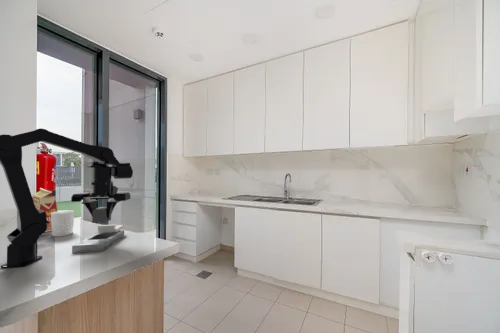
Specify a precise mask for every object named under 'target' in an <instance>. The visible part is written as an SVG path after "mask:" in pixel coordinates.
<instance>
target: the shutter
mask: <svg viewBox="0 0 500 333" xmlns="http://www.w3.org/2000/svg"><path fill="white" fill-rule="evenodd" d="M123 229H124V224H100V225H97V232H98V231H99V232H98V233H108V232H117V231H119V230H123Z"/></svg>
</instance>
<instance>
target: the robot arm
mask: <svg viewBox="0 0 500 333" xmlns="http://www.w3.org/2000/svg"><path fill="white" fill-rule="evenodd" d="M39 142H41V143H44V144H47V145H51V146H54V147H57V148H62V149H64V150H67V151H71V152H75V153H76V154H77V153H78V154H81V155H83V156H85V157H87V158H89V159H90V160H93V161H91V162H90V164H88V165H87V166H86V167H87V168H89V169H90V168H91V169H92V168H93V181H91V185H92V186H93V188H92V189H93V192H78V193H74V194H72V195H71V197H70V199H71V203H75V202H77V203H79V202H81V201H82V202H81V204H82V205H84V207H86V209H87V210H88V211H89V214H90V215H91V217H92V216H93V210H94V209H96V208H98V207H97V204H98V202H99V200H109V201H106V207H107V219H109V218H110V216H111V217H112V214H113V212H114V209H115V206H116V205H117V204H118V203H120V202H124V201H128V200H131V192H121V191H120V192H118V190H119V188H118V187H117V186H115V185H114V182H113V181H112V177H113V178H114V179H115V180H119V179H120V180H121V179H123V180H124V179H125V180H126V179H127V180H128V179H132V177H133V173H134V172H133V171H134V170H133V168H132V166H131V162H120V161H119V160H118V158H116V156H115V153H114V150H113V149H111V148H110V147H106V146H101V145H93V144H88V143H84V142H82V141H79V140H76V139H74V138H69V137H66V136H64V135H61V134H58V133H55V132H51V131H49V130H47V129H45V128H37V129H34V130H31V131H28V132H27V131H26V132H23V133H19V134H18V133H17V134H15V135H12V134H11V135H10V134H0V166H1V167H2V170H3V172H4V176H5V178H6V181H7V184H8V188H9V190H10V193H11V196H12V198H13V202H14V205H15V208H16V228H15V229H14V230H12V231H11V232H10V233H9V234H8V235H7V236H6V238H7V241H9V244H8V245H7V247H6V263H4V264H2V265H0V267H3V266H10V267H9V268H18V267H27V266H29V265H30V264H32V263H34V262H37V261H38V260H40V259H42V258H43V255H38V246H39V245H38V241H39V238H40V237H41V236H43V234H44V233H46V232H45V231H46V230H47V224H49V222H48V221H47V219H46V212H45V211H43V210H37V209H36V207H35V205H34V202H33V198H32V196H33V194H32V193H31V190H30V186H29V182H28V180H27V177H26V174H25V171H24V168H23V163H22V162H23V147H26V146H30V145H33V144H37V143H39ZM46 223H47V224H46Z"/></svg>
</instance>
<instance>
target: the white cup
mask: <svg viewBox="0 0 500 333" xmlns="http://www.w3.org/2000/svg"><path fill="white" fill-rule="evenodd" d="M74 221H75V210H73V209H67V210H58V211H56V212H52V213H51V228H52V231H51V237H63V236H69V235H71V234H73V232H74Z"/></svg>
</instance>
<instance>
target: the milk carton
mask: <svg viewBox="0 0 500 333" xmlns="http://www.w3.org/2000/svg"><path fill="white" fill-rule="evenodd" d="M52 193H53V191H50V190H46V189H44V188H42V187H40V188H39V191H37V192H36V193H34V194H32V198H33V202H34V205H35V207H36V209H37V210H43V211H45V212H46V219H47V221H48V222H49V224H47V223H46V224H47V230H46V231H45V232H44V233H47V232H52V228H51V213H52V212H56V211H59V210H58V209H59V208H58V202H57V197H56V195H54V194H52Z"/></svg>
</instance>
